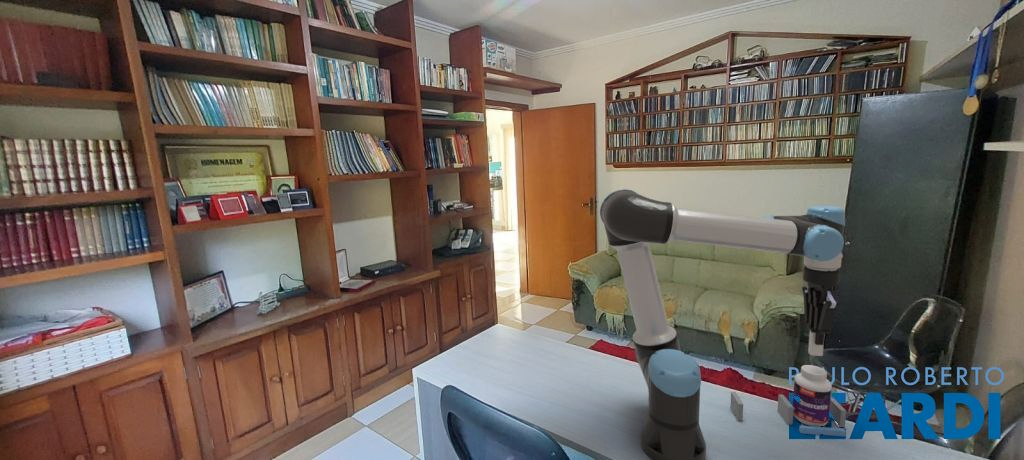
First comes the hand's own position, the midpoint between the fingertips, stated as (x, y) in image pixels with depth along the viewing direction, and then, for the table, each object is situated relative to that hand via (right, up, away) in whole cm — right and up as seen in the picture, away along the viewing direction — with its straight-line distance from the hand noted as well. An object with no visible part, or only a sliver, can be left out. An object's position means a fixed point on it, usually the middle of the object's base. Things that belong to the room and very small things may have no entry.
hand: (815, 354), depth 107 cm
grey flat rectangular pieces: (-6, -19, +3) cm, 20 cm away
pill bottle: (+1, -19, +3) cm, 19 cm away
